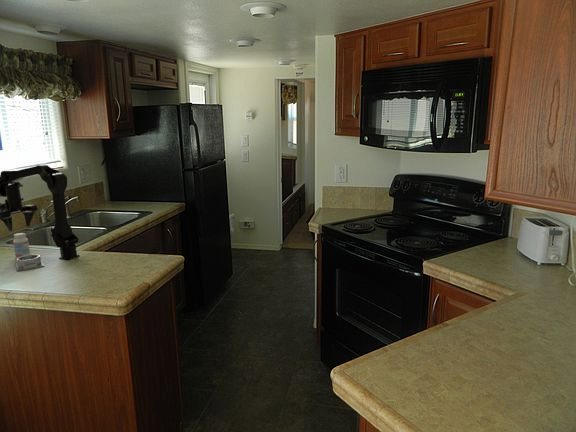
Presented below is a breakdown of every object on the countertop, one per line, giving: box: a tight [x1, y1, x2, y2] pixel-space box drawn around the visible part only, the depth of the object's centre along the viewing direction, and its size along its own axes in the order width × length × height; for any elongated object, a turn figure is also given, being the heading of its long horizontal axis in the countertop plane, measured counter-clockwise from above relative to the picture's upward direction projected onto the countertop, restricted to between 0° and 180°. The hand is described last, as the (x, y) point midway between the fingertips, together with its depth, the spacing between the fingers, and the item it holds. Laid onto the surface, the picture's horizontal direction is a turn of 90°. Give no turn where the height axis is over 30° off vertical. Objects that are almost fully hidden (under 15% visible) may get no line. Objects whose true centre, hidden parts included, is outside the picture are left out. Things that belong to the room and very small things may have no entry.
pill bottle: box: [12, 232, 31, 259], centre depth 203 cm, size 6×6×11 cm
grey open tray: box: [15, 253, 45, 272], centre depth 191 cm, size 14×10×4 cm
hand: (19, 228), depth 204 cm, fingers open, 9 cm apart
